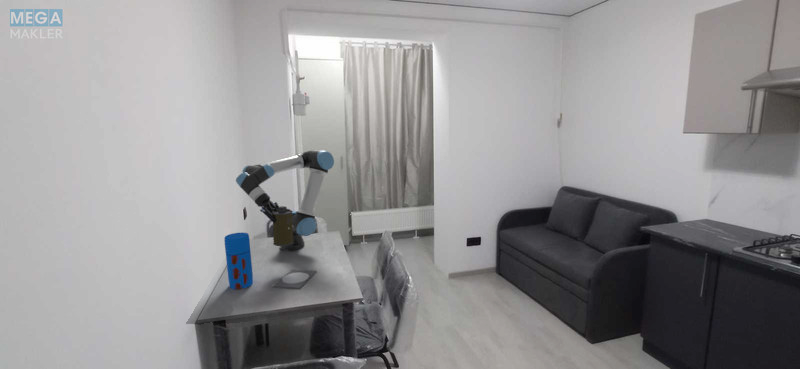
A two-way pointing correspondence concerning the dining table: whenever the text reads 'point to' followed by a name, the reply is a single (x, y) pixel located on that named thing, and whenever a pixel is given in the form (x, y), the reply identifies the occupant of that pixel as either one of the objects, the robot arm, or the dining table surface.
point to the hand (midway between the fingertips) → (289, 228)
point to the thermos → (238, 260)
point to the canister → (283, 227)
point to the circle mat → (295, 279)
